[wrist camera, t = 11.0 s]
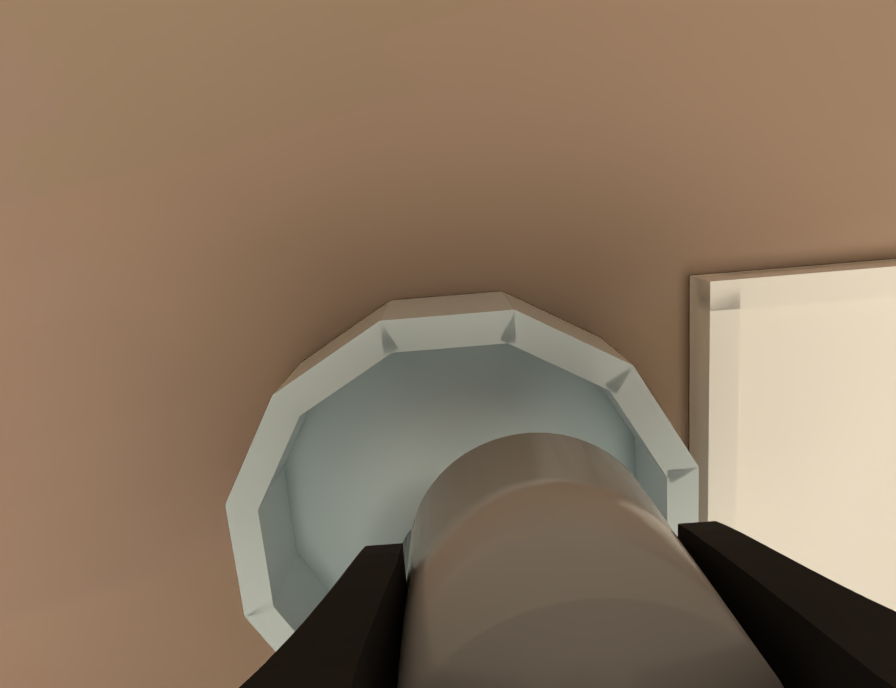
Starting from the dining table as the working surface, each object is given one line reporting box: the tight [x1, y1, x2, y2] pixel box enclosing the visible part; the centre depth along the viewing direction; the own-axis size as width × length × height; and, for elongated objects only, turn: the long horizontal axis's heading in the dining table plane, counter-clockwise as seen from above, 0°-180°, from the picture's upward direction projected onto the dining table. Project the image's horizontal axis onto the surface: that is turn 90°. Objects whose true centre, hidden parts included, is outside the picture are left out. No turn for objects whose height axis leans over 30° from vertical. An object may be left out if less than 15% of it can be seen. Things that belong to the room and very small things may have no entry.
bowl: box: [225, 291, 699, 652], centre depth 18 cm, size 12×12×3 cm
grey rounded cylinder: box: [397, 433, 784, 688], centre depth 9 cm, size 4×4×5 cm
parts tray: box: [689, 259, 896, 611], centre depth 19 cm, size 15×11×1 cm
